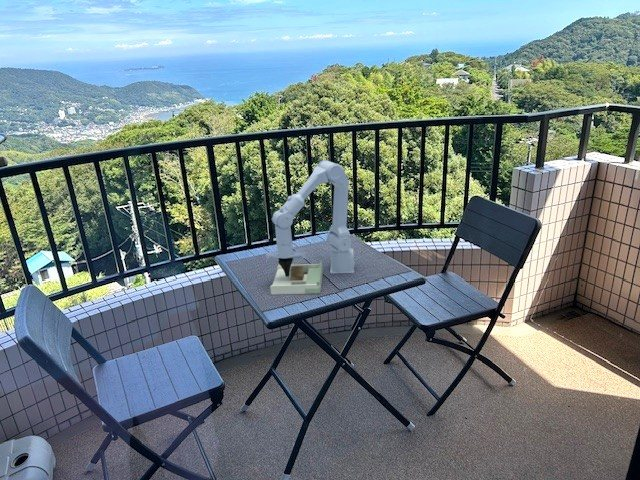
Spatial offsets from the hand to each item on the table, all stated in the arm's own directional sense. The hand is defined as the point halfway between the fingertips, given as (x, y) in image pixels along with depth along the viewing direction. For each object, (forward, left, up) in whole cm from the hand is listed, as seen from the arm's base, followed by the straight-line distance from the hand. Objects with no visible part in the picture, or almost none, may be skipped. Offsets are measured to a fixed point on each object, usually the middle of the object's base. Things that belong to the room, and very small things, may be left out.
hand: (287, 275), depth 168 cm
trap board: (-4, 0, -3) cm, 5 cm away
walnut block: (-4, 0, -1) cm, 4 cm away
